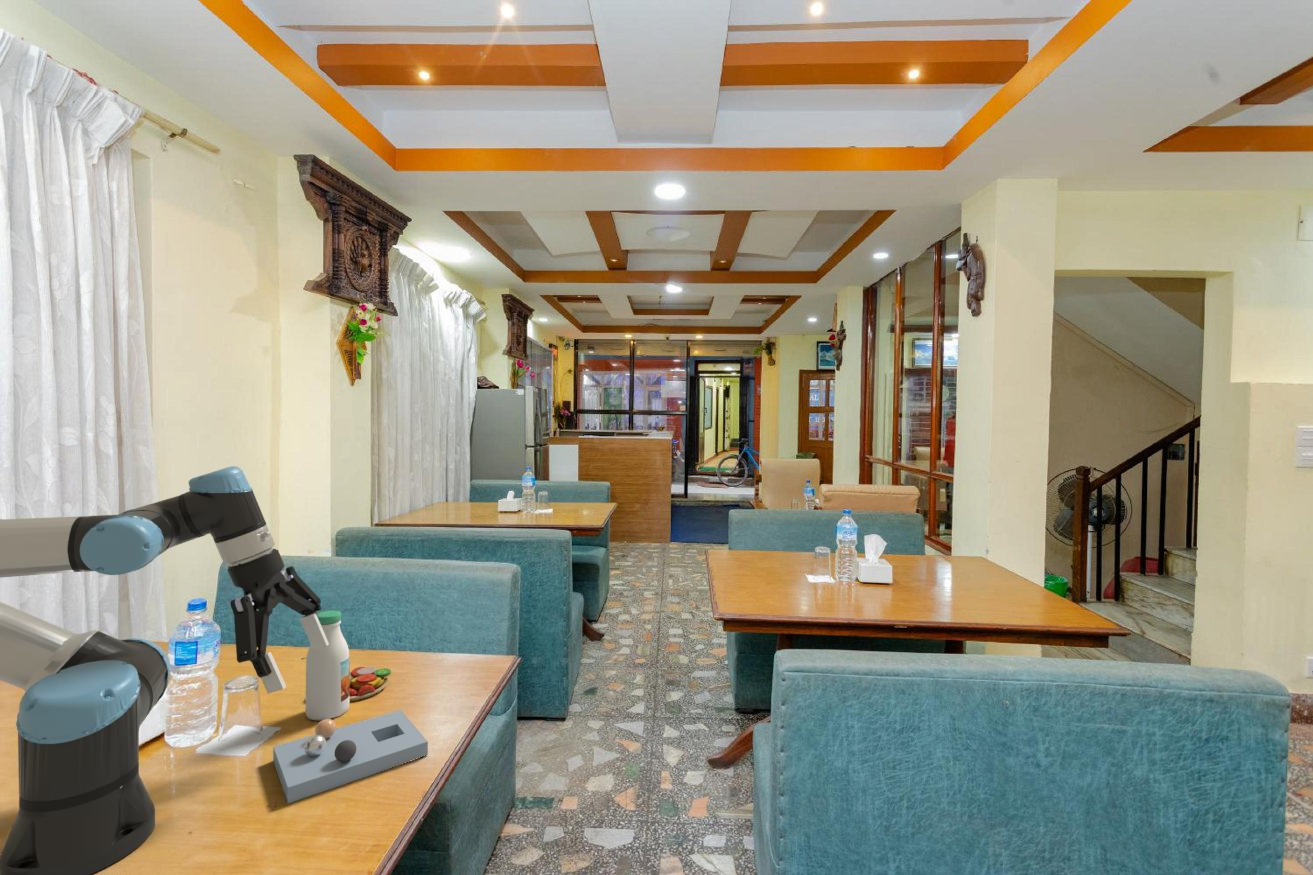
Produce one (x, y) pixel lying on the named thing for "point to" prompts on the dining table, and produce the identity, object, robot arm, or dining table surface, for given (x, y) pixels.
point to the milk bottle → (328, 672)
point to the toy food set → (367, 682)
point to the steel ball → (315, 745)
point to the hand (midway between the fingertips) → (300, 667)
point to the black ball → (345, 751)
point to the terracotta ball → (325, 728)
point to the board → (375, 751)
